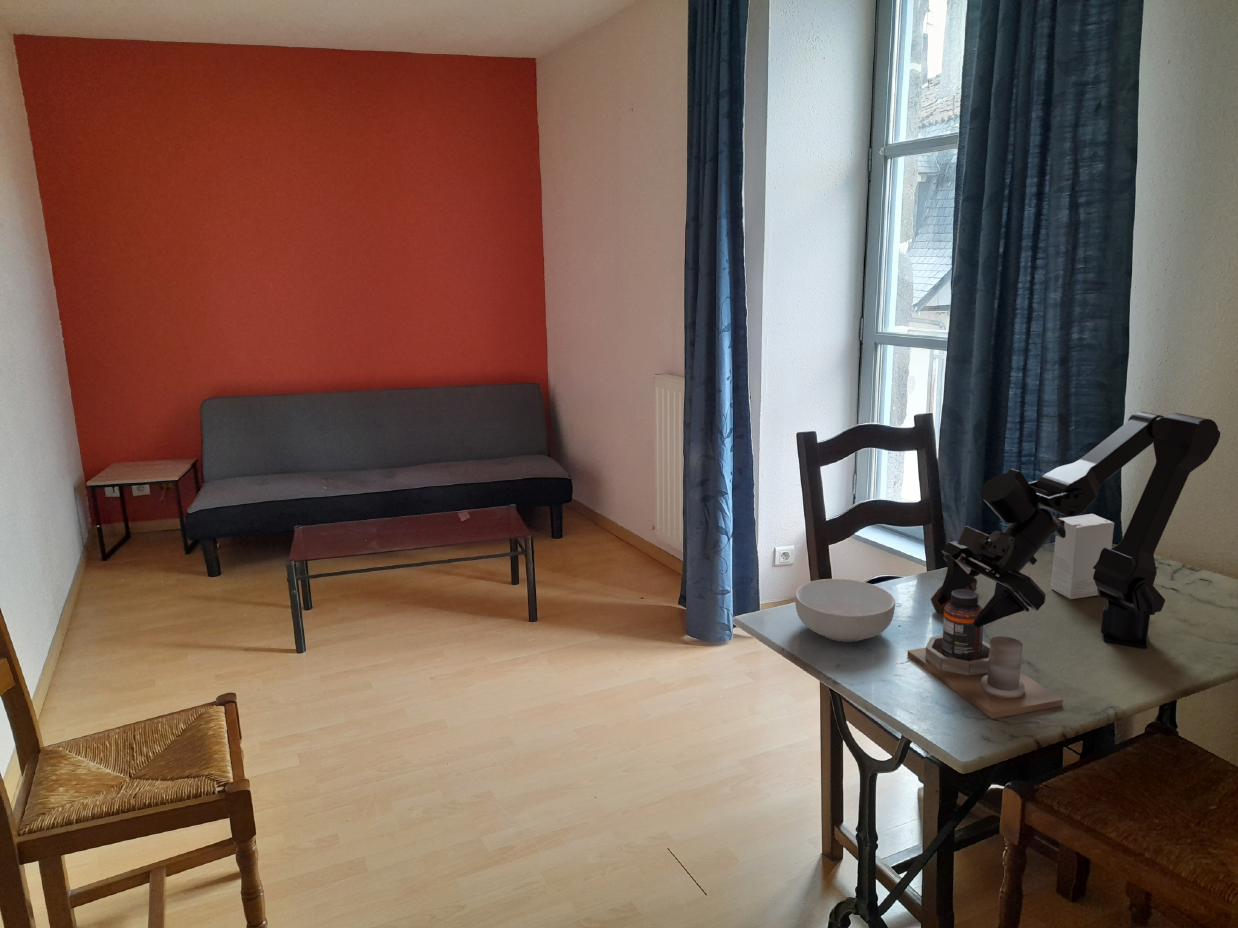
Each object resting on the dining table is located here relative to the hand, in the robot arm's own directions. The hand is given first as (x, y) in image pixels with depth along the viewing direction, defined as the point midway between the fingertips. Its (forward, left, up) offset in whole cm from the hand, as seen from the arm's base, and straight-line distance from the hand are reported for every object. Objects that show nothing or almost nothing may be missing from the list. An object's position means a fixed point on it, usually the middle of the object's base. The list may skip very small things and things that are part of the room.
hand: (956, 614), depth 138 cm
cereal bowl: (+19, -5, -9) cm, 22 cm away
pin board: (-4, +3, -9) cm, 10 cm away
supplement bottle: (-1, -1, -8) cm, 8 cm away
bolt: (+4, -28, -10) cm, 30 cm away
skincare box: (-16, -43, -9) cm, 47 cm away
